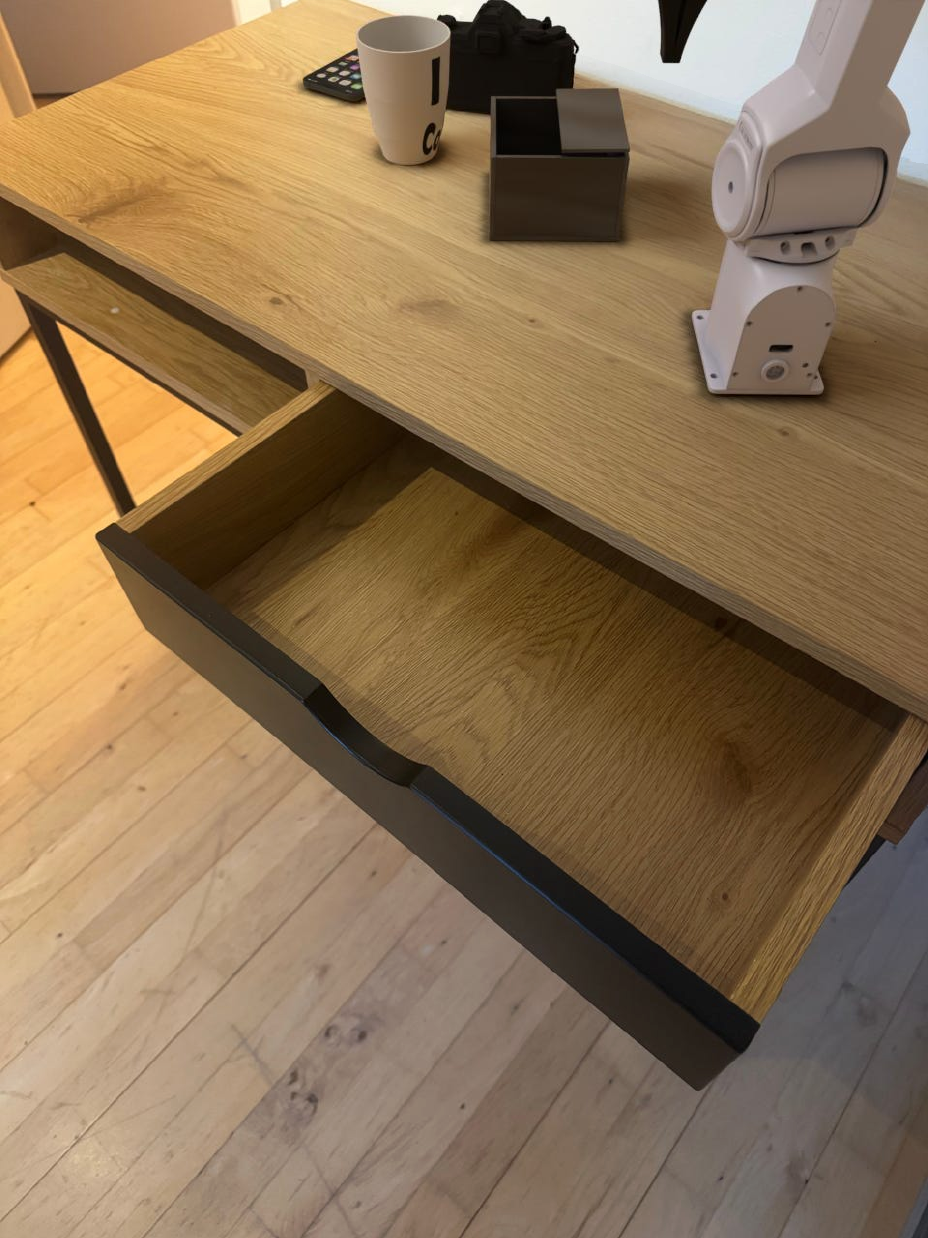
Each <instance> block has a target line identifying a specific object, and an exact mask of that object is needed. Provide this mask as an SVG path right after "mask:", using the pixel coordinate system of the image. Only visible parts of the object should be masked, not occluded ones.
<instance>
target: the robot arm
mask: <svg viewBox="0 0 928 1238" xmlns="http://www.w3.org/2000/svg"><path fill="white" fill-rule="evenodd" d="M707 2H708V0H657V3H658V4H657V5H658V12H659V22H660V24H659V25H660V26H659V27H660V46H659V47H660V48H659V49H660V50H659V55H660V59H661V62H662V64H680V63H681V61H682V57H683V55H684V51H685V47H686V46H687V42H688V40H689V38H690V35H691V33H692V32H693V28H694V26H695V24H696V22H697V20H698V18H699V16H700V14H701V12H702V11H703V9H704V7H705V5H706V4H707ZM814 2H815V3H814V6H813V8H812V12H811V14H810V16H809V20H808V23H807V26H806V29H805V31H804V35H803V37H802V40H801V43H800V46H799V49H798V52H797V54H796V58H795V59H794V62H793V64H792V65H791V66H790V67H789V68H787V69H786V70H785V71H784V72H783V73H781V74H780V75H778V76H776V78H774V79H773V80H772V81H770V82H768V83H767V84H766V85H765V86H763V87H762V88H760V89H759V90H758V91H756V92H755V93H754V94H753V95H751V96H750V97H748V98H747V99H746V100H745V101H744V102H743V104H742V106H741V110H740V114H739V116H738V117H737V121H736V124H735V126H734V128H733V131H732V132H731V134H730V135H729V136H728V138H727V139H726V140H725V142H724V144H723V145H722V147H721V148H720V150H719V152H718V154H717V157H716V159H715V162H714V166H713V170H712V178H711V205H712V211H713V216H714V219H715V221H716V225H717V226H718V228H719V230H720V231H722V233H723V235H724V236H725V238H726V239H727V240H726V244H725V248H724V252H723V256H722V261H721V264H720V269H719V272H718V276H717V281H716V285H715V289H714V293H713V296H712V297H713V298H712V301H711V306H710V309H696V310H694V311H693V312H692V314H691V321H692V325H693V329H694V333H695V337H696V343H697V347H698V351H699V356H700V359H701V364H702V369H703V372H704V378H705V381H706V386H707V390H708V392H710V393H711V394H717V395H809V396H810V395H812V396H813V395H814V396H818V395H821V394H822V393H823V391H824V389H825V386H824V382H823V380H822V377H821V374H820V372H819V366H820V364H821V361H822V359H823V356H824V353H825V351H826V348H827V345H828V342H829V340H830V337H831V334H832V332H833V329H834V326H835V323H836V319H837V305H836V300H835V297H834V292H833V273H834V268H835V266H836V263H837V259H838V257H839V254H840V251H841V249H842V248H846V247H850V246H851V247H852V246H853V244H854V242H855V239H856V236H857V233H858V230H859V229H863V228H864V229H865V228H867V227H870V226H871V225H873V224H874V223H876V221H877V220H878V219H879V218H880V217H881V215H882V214H883V212H884V211H885V209H886V207H887V205H888V203H889V202H890V200H891V197H892V195H893V193H894V189H895V186H896V182H897V177H898V168H899V164H900V159H901V156H902V153H903V150H904V148H905V145H906V144H907V142H908V139H909V138H910V136H911V128H910V123H909V120H908V116H907V114H906V110H905V108H904V107H903V105H902V103H901V101H900V99H899V98H898V96H897V95H896V94H895V93H894V92H893V91H892V90H891V88H890V87H889V83H890V81H891V79H892V77H893V74H894V72H895V70H896V67H897V65H898V63H899V60H900V58H901V56H902V54H903V52H904V50H905V48H906V46H907V43H908V41H909V38H910V36H911V34H912V31H913V29H914V27H915V24H916V22H917V21H918V18H919V16H920V14H921V11H922V10H923V7H924V4H925V3H926V0H815V1H814Z"/></svg>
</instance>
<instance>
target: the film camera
mask: <svg viewBox="0 0 928 1238" xmlns="http://www.w3.org/2000/svg"><path fill="white" fill-rule="evenodd" d="M436 20H438V21H440V22H442V23H444V24H445V25H447V26H448V28H449V29H450V59H449V86H448V94H447V101H446V109H447V110H448V109H449V110H456V111H461V112H462V111H463V112H473V113H480V114H489V115H491V96H539V97H556V89H574V86H575V85H574V84H575V70H576V62H577V55H578V53H579V52H580V46H579V45H578V44H577V41H576V40H575V39H574V38H573V37H572V35H570V33H568V32H567V28H566V27H565V26H564V25H559V24H557V25H553V24H552V22H553V21H552V20H551V17H550V16H545V17H544V19H543V20H540V19H537V18H531V17H530V18H528V17H526V15H524V14H522V11H521V10H520V9H519V8H517V7H516V6H515V5H513V4H512V3H511V2H509V1H508V0H486V2H483V3H482V5H481V6H480V7H479V9H478V10H477V12H476V14H475V16H474V18H473V19H472V21H464V20H463V21H461V20H457V18H456V17H455V16H454V15H451V14H438V15H437V17H436Z"/></svg>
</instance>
